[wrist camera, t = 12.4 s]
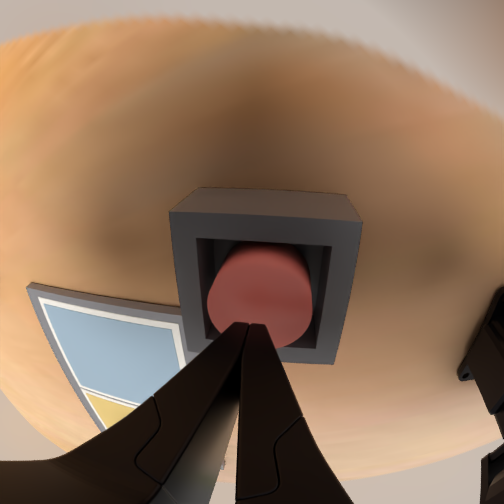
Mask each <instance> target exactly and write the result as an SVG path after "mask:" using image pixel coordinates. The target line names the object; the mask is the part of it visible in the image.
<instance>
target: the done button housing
mask: <svg viewBox="0 0 504 504" xmlns="http://www.w3.org/2000/svg"><path fill="white" fill-rule="evenodd" d="M169 218H170V228H171V238H172V247H173V256H174V264H175V272H176V280H177V287H178V295H179V301H180V308H181V315H182V321H183V327H184V333H185V339H186V345H187V350H188V351H189V352H196V353H200V352H202V351H203V350H204V349H205V348H206V347H207V346H208V345H209V344H210V343H211V342H213V341H214V340H215V339H216V338H217V337H218V336H219V335H220V334H221V333H220V332H219V331H218V330H217V328H216V327H215V326H214V324H213V323H212V321H211V319H210V316H209V313H208V308H207V299H208V294H209V291H210V289H211V287H212V285H213V283H214V280H215V278H216V276H217V274H218V272H219V270H220V268H221V266H222V263H223V261H224V259H225V257H226V255H227V254H228V253H229V251H230V250H231V249H232V248H233V247H235V246H236V245H237V244H239V243H240V242H242V241H260V242H276V243H289V244H291V245H292V246H294V247H295V248H296V249H297V250H299V251H300V253H301V254H302V255H303V256H304V258H305V259H306V261H307V264H308V266H309V270H310V277H311V293H312V318H311V322H310V324H309V326H308V328H307V330H306V331H305V332H304V333H303V335H302V336H300V337H299V338H298V339H297V340H295V341H294V342H292V343H290V344H289V345H286V346H284V347H280V348H276V351H277V353H278V356H279V358H280V361H281V362H289V363H306V364H331V365H334V361H335V357H336V354H337V350H338V346H339V342H340V338H341V334H342V329H343V325H344V321H345V316H346V312H347V307H348V303H349V298H350V293H351V288H352V283H353V278H354V273H355V267H356V262H357V256H358V250H359V244H360V237H361V231H362V224H363V222H362V220H361V218H360V216H359V215H358V213H357V212H356V210H355V208H354V207H353V205H352V203H351V202H350V200H349V199H348V197H347V195H343V194H331V193H317V192H303V191H286V190H266V189H241V188H197V189H196V190H195V191H194V192H192V193H191V194H190V195H189V196H187V197H186V198H185V199H184V200H182V201H181V202H180V203H179V204H178V205H176V206H175V207H174V208H173V209H171V210H170V211H169Z"/></svg>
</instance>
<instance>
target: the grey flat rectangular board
mask: <svg viewBox="0 0 504 504" xmlns="http://www.w3.org/2000/svg"><path fill="white" fill-rule="evenodd" d="M26 289H27V292H28V295H29V297H30V300H31V302H32V305H33V308H34V310H35V312H36V315H37V317H38V320H39V322H40V324H41V327H42V329H43V331H44V333H45V335H46V338H47V340H48V342H49V344H50V346H51V348H52V350H53V352H54V354H55V356H56V358H57V360H58V362H59V364H60V366H61V368H62V370H63V371H64V373H65V375H66V377H67V379H68V380H69V382H70V384H71V386H72V387H73V389H74V391H75V393H76V394H77V396H78V397H79V399H80V401H81V402H82V404H83V406H84V407H85V409H86V410H87V412H88V413H89V415H90V416H91V418H92V419H93V421H94V422H95V424H96V425H97V427H98V428H99V430H100V431H101V432H103V431H105V430H106V429H108V428H109V427H111V426H112V425H114V424H115V423H117V422H118V421H120V420H121V419H123V418H124V417H125V416H127V415H128V414H129V413H131V412H132V411H133V410H134V409H136V408H137V407H138V406H139V405H141V404H142V403H143V402H144V401H145V400H147V399H148V398H149V397H150V396H153V394H154V393H155V392H156V391H157V390H158V389H160V388H161V387H162V386H163V385H164V384H165V383H167V382H168V381H169V380H170V379H171V378H172V377H173V376H175V375H176V374H177V373H178V372H179V371H180V370H181V369H182V368H184V367H185V366H186V365H187V364H188V363H189V362H190V361H191V360H193V359H194V358H195V357H196V356H197V355H198V354H199V353H196V352H189V351H188V350H187V345H186V339H185V333H184V327H183V321H182V315H181V308H179V307H171V306H164V305H156V304H149V303H142V302H136V301H129V300H122V299H116V298H110V297H104V296H98V295H92V294H87V293H81V292H76V291H70V290H65V289H60V288H55V287H50V286H45V285H40V284H36V283H30V284H29V285H28V286H27V287H26ZM153 397H154V396H153ZM224 466H225V462H224V459H223V462H222V465H221V468H220V469H221V470H224Z"/></svg>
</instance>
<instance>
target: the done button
mask: <svg viewBox="0 0 504 504" xmlns="http://www.w3.org/2000/svg"><path fill="white" fill-rule="evenodd" d="M207 308H208V313H209V316H210V319H211V321H212V323H213V324H214V326H215V327H216V328H217V330H218V331H219V332H220V333H222V332H223V331H225V330H226V329H227V328H228V327H229V326H230V325H231V324H232V323H233V322H236V321H237V322H247V323H249V324H251V323H259V324H265V325H266V326H267V329H268V331H269V334H270V336H271V339H272V341H273V344H274V346H275V348H280V347H284V346H286V345H289V344H290V343H292V342H294V341H295V340H297V339H298V338H299V337H300V336H302V335H303V333H304V332H305V331H306V330H307V328H308V326H309V324H310V322H311V318H312V293H311V277H310V270H309V266H308V264H307V261H306V259H305V258H304V256H303V255H302V254H301V253H300V251H299V250H297V249H296V248H295V247H294V246H292V245H291V244H289V243H276V242H260V241H242V242H240V243H239V244H237V245H236V246H235V247H233V248H232V249H231V250H230V251H229V253H228V254H227V255H226V257H225V259H224V261H223V263H222V266H221V268H220V270H219V272H218V274H217V276H216V278H215V280H214V283H213V285H212V287H211V289H210V291H209V294H208V299H207Z"/></svg>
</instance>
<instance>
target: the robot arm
mask: <svg viewBox="0 0 504 504" xmlns="http://www.w3.org/2000/svg"><path fill="white" fill-rule="evenodd" d="M457 376H458V379H459V380H460V381H467V380H474V379H475V381H476V384H477V386H478V388H479V390H480V393H481V395H482V397H483V400H484V402H485V404H486V407H487V409H488V412H489V414H490V415H493V414H494V416H495V419H496V421H497V424H498V426H499V429H500V432H501V434H502V437H503V439H504V287H502V288H501V289H499V290H498V292H497V293H496V295H495V297H494V300H493V302H492V305H491V307H490V309H489V312H488V314H487V316H486V318H485V320H484V323H483V325H482V327H481V329H480V331H479V333H478V335H477V337H476V339H475V341H474V343H473V345H472V347H471V349H470V351H469V353H468V354H467V356H466V358H465V360H464V362H463V364H462V365H461V367H460V369H459V370H458V372H457ZM153 396H154V397H153ZM153 396H150V397H149V398H148V399H147V400H145V401H144V402H143V403H142V404H141V405H139V406H138V407H137V408H136V409H134V410H133V411H132V412H131V413H129V414H128V415H127V416H125V417H124V418H123V419H121V420H120V421H118V422H117V423H115V424H114V425H112V426H111V427H109V428H108V429H106V430H105V431H103V432H101V433H100V434H98V435H97V436H95V437H93V438H92V439H90V440H88V441H87V442H85V443H84V444H82V445H80V446H79V447H77V448H75V449H74V450H72V451H70V452H68V453H66V454H64V455H62V456H59V457H56V458H52V459H47V460H33V461H0V504H209V501H210V498H211V495H212V492H213V489H214V486H215V483H216V480H217V477H218V474H219V471H220V468H221V465H222V462H223V459H224V456H225V453H226V450H227V447H228V443H229V440H230V437H231V434H232V431H233V427H234V424H235V421H236V418H237V415H238V411H239V418H238V442H237V467H236V494H235V500H236V502H235V504H354V503H353V502H352V500H351V499H350V497H349V496H348V494H347V493H346V491H345V490H344V488H343V487H342V485H341V484H340V482H339V481H338V479H337V477H336V476H335V474H334V473H333V471H332V470H331V468H330V467H329V465H328V463H327V462H326V460H325V458H324V457H323V455H322V453H321V451H320V450H319V448H318V446H317V444H316V442H315V440H314V438H313V436H312V434H311V431H310V429H309V427H308V425H307V422H306V420H305V418H304V417H303V413H302V411H301V409H300V406H299V404H298V401H297V399H296V397H295V394H294V392H293V389H292V387H291V385H290V382H289V380H288V377H287V375H286V373H285V370H284V368H283V365H282V363H281V361H280V358H279V356H278V353H277V351H276V348H275V346H274V344H273V341H272V339H271V336H270V334H269V331H268V329H267V326H266V325H265V324H259V323H251V324H249V323H247V322H237V321H236V322H233V323H232V324H231V325H230V326H229V327H228V328H227V329H226V330H225V331H223V332H222V333H221V334H220V335H219V336H218V337H217V338H216V339H215V340H214V341H213V342H211V343H210V344H209V345H208V346H207V347H206V348H205V349H204V350H203V351H202V352H200V353H199V354H198V355H197V356H196V357H195V358H194V359H193V360H191V361H190V362H189V363H188V364H187V365H186V366H185V367H184V368H182V369H181V370H180V371H179V372H178V373H177V374H176V375H175V376H173V377H172V378H171V379H170V380H169V381H168V382H167V383H165V384H164V385H163V386H162V387H161V388H160V389H158V390H157V391H156V392H155V393H154V394H153ZM480 504H504V443H503V444H502V445H501V446H499V447H498V448H497V449H496V450H494V451H493V452H492V453H489V454H488V455H486V456H485V457H484V458H482V460H481V494H480Z"/></svg>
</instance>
